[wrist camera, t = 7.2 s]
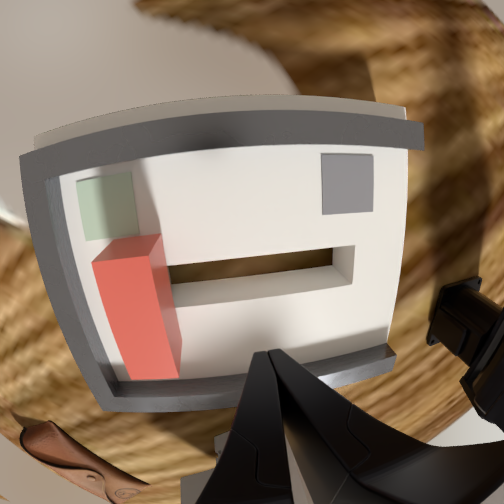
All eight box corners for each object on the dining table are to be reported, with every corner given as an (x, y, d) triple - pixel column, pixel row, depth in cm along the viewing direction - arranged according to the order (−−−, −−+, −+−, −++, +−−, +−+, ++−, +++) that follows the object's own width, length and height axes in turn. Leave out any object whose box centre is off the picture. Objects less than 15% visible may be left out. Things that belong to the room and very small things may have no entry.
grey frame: (406, 123, 13) (423, 123, 11) (382, 358, 18) (392, 370, 17) (34, 154, 11) (19, 155, 9) (107, 395, 16) (102, 410, 15)
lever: (168, 221, 15) (148, 255, 10) (184, 316, 17) (179, 377, 12) (127, 226, 15) (90, 262, 9) (148, 319, 17) (131, 379, 12)
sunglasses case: (157, 486, 26) (139, 520, 21) (132, 472, 30) (115, 502, 25) (47, 417, 20) (21, 457, 15) (37, 406, 24) (14, 439, 19)
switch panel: (377, 111, 15) (406, 106, 12) (363, 345, 21) (380, 368, 19) (59, 137, 13) (32, 136, 10) (120, 377, 19) (112, 405, 16)
